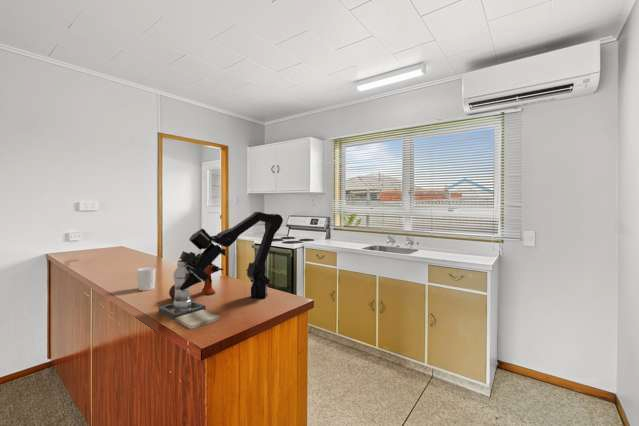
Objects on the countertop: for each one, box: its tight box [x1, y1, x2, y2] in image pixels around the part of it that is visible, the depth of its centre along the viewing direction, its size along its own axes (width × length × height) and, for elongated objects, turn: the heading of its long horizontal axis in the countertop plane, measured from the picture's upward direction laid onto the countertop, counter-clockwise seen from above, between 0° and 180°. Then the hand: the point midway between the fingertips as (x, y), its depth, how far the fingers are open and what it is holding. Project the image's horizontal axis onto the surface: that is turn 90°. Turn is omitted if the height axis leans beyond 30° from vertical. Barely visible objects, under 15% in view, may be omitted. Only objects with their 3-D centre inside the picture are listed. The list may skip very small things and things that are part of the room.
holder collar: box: [158, 299, 207, 321], centre depth 117 cm, size 12×12×2 cm
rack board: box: [174, 310, 221, 330], centre depth 108 cm, size 11×11×1 cm
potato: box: [168, 284, 175, 300], centre depth 130 cm, size 8×12×8 cm, turn 53°
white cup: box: [136, 266, 157, 292], centre depth 147 cm, size 8×8×10 cm
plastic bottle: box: [172, 259, 192, 313], centre depth 117 cm, size 6×7×20 cm
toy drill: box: [201, 263, 224, 296], centre depth 138 cm, size 5×19×15 cm, turn 47°
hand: (178, 287), depth 116 cm, fingers closed on plastic bottle, 6 cm apart
